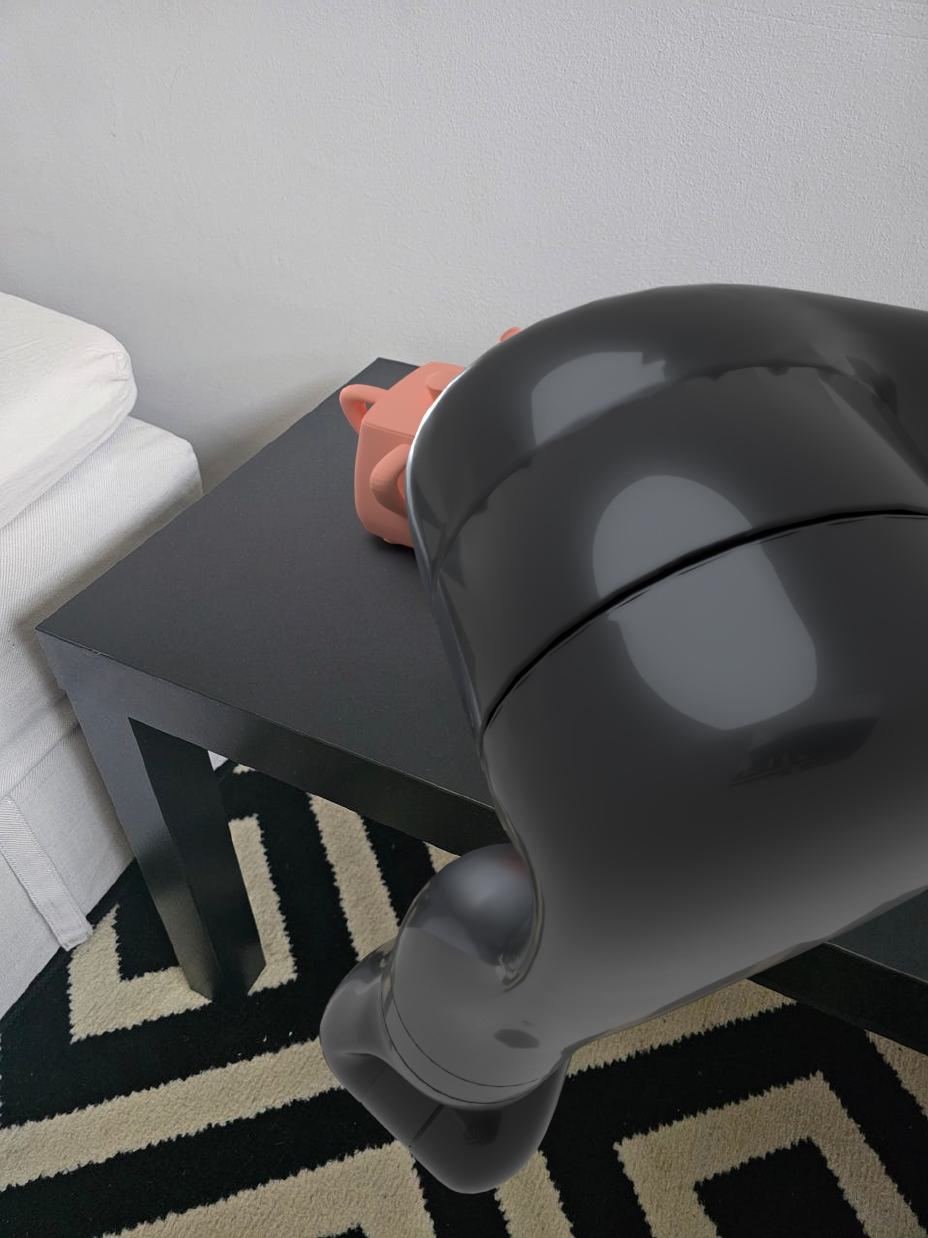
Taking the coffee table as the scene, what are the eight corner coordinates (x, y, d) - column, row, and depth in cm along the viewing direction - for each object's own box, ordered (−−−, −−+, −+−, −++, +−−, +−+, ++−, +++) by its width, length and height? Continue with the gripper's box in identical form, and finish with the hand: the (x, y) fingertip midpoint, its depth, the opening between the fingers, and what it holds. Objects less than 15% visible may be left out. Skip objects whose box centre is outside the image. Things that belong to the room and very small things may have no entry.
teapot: (386, 602, 75) (371, 450, 67) (336, 491, 86) (317, 349, 78) (590, 553, 79) (601, 403, 70) (516, 453, 90) (518, 314, 82)
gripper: (779, 835, 47) (907, 644, 56) (529, 702, 53) (680, 552, 63) (753, 924, 52) (875, 735, 61) (527, 792, 58) (668, 641, 68)
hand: (776, 642), depth 62 cm, fingers open, 8 cm apart
